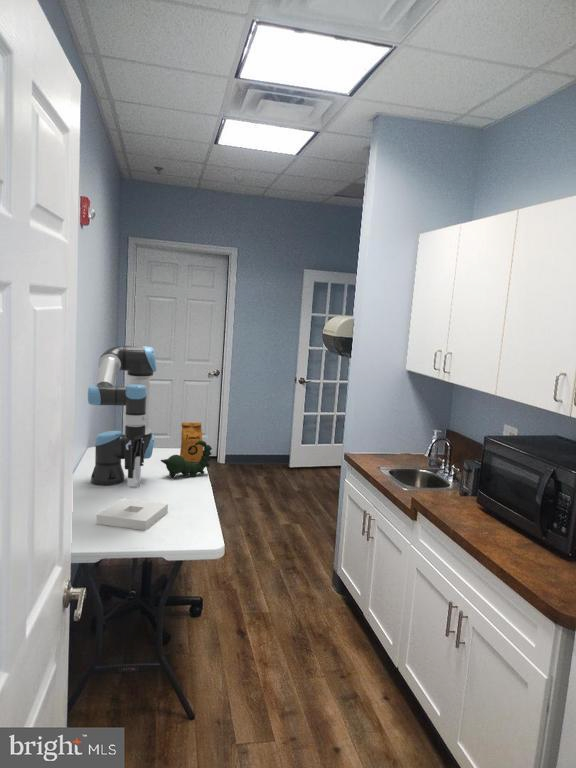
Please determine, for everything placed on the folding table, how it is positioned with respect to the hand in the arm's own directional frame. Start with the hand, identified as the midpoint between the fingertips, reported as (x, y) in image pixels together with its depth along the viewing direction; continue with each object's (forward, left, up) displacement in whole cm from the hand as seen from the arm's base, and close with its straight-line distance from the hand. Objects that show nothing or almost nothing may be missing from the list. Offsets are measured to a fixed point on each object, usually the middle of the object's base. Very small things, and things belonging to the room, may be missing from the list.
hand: (134, 483), depth 212 cm
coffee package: (-88, -9, -14) cm, 89 cm away
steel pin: (0, 0, -1) cm, 1 cm away
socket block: (0, 0, -14) cm, 14 cm away
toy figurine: (-61, -2, -14) cm, 62 cm away
